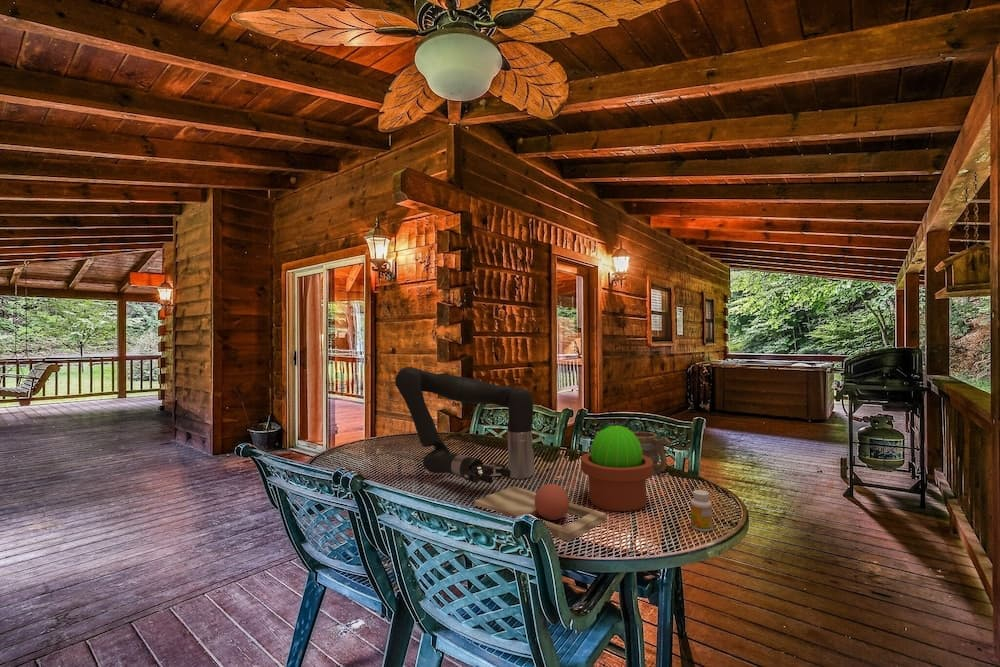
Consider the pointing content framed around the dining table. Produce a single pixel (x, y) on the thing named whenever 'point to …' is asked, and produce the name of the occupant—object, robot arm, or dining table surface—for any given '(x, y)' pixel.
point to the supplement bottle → (701, 511)
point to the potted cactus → (617, 470)
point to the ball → (551, 501)
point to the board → (524, 503)
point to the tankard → (653, 449)
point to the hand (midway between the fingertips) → (501, 476)
